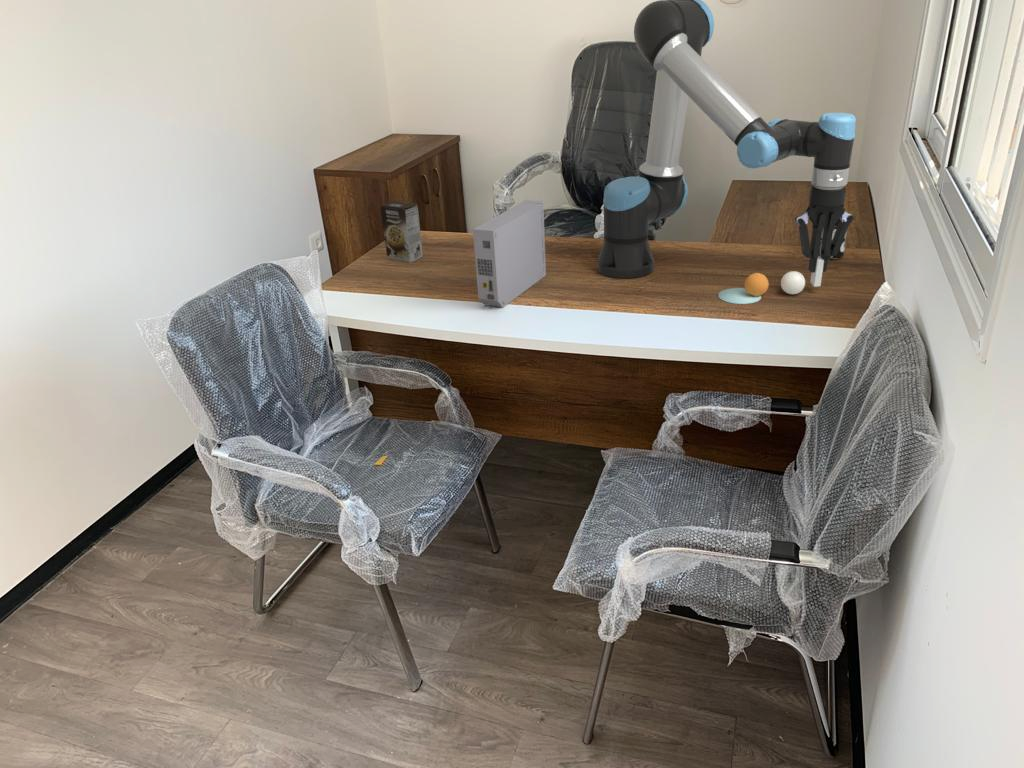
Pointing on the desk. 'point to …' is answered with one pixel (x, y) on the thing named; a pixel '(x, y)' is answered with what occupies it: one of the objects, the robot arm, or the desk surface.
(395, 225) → the coffee box
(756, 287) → the object ball
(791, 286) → the cue ball
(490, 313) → the desk surface
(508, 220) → the game console
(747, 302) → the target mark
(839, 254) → the beverage can
